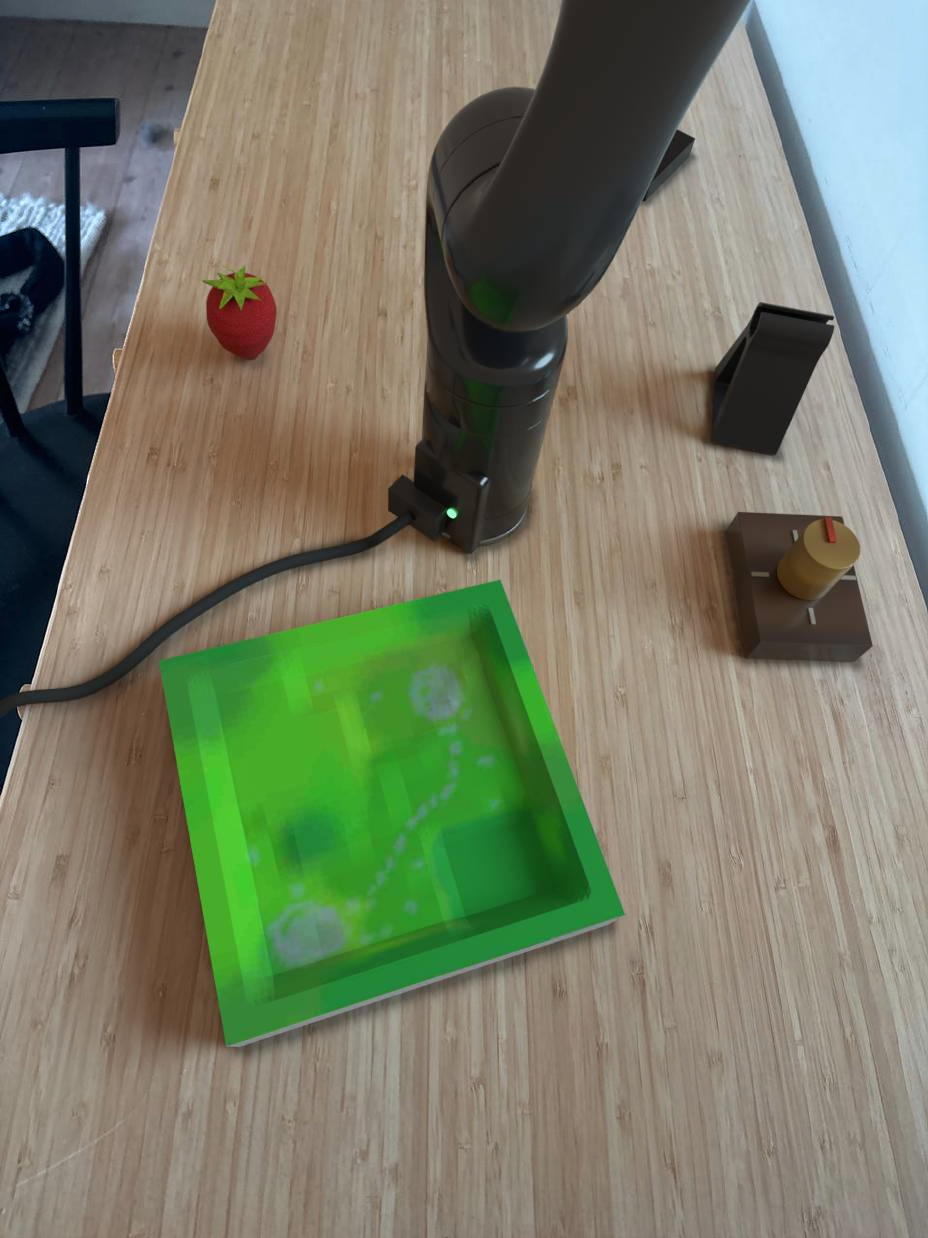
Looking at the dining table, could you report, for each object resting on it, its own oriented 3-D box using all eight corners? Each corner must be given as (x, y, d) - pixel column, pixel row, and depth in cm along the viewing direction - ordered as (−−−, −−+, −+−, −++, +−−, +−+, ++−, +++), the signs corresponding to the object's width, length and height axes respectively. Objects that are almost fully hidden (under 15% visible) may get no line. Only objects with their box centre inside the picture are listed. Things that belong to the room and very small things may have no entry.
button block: (644, 201, 93) (655, 167, 89) (567, 160, 95) (574, 125, 91) (689, 156, 97) (700, 122, 93) (614, 117, 99) (622, 82, 95)
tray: (174, 687, 64) (158, 660, 60) (493, 609, 69) (500, 579, 65) (239, 1047, 54) (226, 1046, 50) (607, 925, 59) (625, 914, 55)
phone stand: (774, 456, 79) (835, 362, 68) (709, 444, 79) (760, 348, 68) (775, 382, 83) (833, 282, 72) (714, 370, 83) (762, 268, 72)
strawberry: (215, 388, 77) (192, 301, 68) (219, 325, 80) (198, 235, 71) (282, 388, 78) (268, 302, 69) (284, 326, 81) (271, 236, 72)
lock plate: (854, 661, 70) (874, 645, 67) (745, 658, 69) (761, 641, 66) (826, 535, 75) (843, 515, 72) (725, 530, 74) (738, 510, 72)
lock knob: (835, 601, 69) (868, 568, 64) (781, 599, 68) (810, 565, 63) (824, 553, 70) (856, 517, 66) (772, 551, 70) (800, 515, 65)
